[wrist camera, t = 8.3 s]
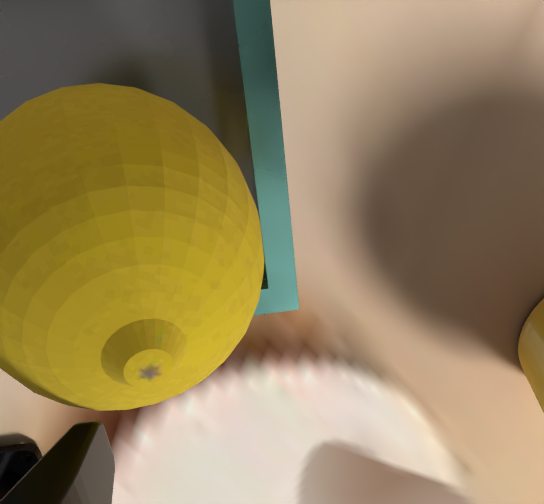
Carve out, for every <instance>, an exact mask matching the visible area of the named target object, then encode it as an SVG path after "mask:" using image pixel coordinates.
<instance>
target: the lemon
mask: <svg viewBox="0 0 544 504" xmlns="http://www.w3.org/2000/svg"><path fill="white" fill-rule="evenodd" d="M263 272H264V252H263V243H262V235H261V227H260V220H259V215H258V211H257V208H256V205H255V202H254V200H253V197H252V195H251V193H250V191H249V188H248V186H247V184H246V181H245V179H244V177H243V174H242V172H241V170H240V168H239V166H238V164H237V163H236V161H235V160H234V158H233V157H232V156H231V154H230V153H229V152H228V151H227V150H226V148H225V147H224V146H223V145H222V143H221V142H220V141H219V140H218V139H217V137H216V136H215V135H214V134H213V132H212V131H211V130H210V129H209V128H208V127H207V126H206V125H204V124H203V123H202V122H200V121H199V120H197V119H196V118H195V117H193V116H192V115H191V114H189V113H188V112H186V111H185V110H184V109H182V108H181V107H180V106H178V105H177V104H175V103H174V102H172V101H169V100H167V99H164V98H162V97H159V96H156V95H154V94H151V93H149V92H146V91H143V90H141V89H138V88H135V87H128V86H119V85H111V84H103V83H94V84H85V85H77V86H69V87H61V88H58V89H56V90H53V91H51V92H48V93H46V94H43V95H41V96H38V97H36V98H33V99H31V100H28V101H26V102H25V103H23V104H22V105H21V106H19V107H18V108H17V109H15V110H14V111H13V112H11V113H10V114H9V115H8V116H6V117H5V118H4V119H2V120H1V121H0V368H1V369H2V370H3V371H5V372H6V373H8V374H9V375H10V376H12V377H13V378H14V379H16V380H17V381H19V382H20V383H22V384H23V385H24V386H26V387H27V388H29V389H30V390H31V391H33V392H34V393H37V394H39V395H42V396H44V397H47V398H49V399H52V400H54V401H57V402H59V403H62V404H65V405H69V406H74V407H80V408H87V409H93V410H99V411H100V410H128V409H132V408H137V407H142V406H147V405H151V404H156V403H158V402H161V401H163V400H166V399H168V398H171V397H173V396H176V395H179V394H181V393H183V392H184V391H186V390H188V389H189V388H191V387H192V386H194V385H196V384H197V383H199V382H201V381H202V380H204V379H205V378H206V377H207V376H208V375H210V374H211V373H212V372H213V371H214V370H215V369H216V368H217V367H218V366H220V365H221V364H222V363H223V362H224V361H225V360H226V358H227V357H228V356H229V355H230V353H231V352H232V351H233V349H234V348H235V347H236V345H237V344H238V343H239V341H240V340H241V339H242V337H243V336H244V335H245V333H246V331H247V328H248V326H249V324H250V321H251V319H252V317H253V314H254V312H255V310H256V307H257V304H258V302H259V298H260V292H261V285H262V279H263Z"/></svg>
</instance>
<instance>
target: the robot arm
mask: <svg viewBox="0 0 544 504" xmlns="http://www.w3.org/2000/svg"><path fill="white" fill-rule="evenodd" d="M25 454H28V455H30V456H27V455H25ZM114 473H115V462H114V456H113V453H112V450H111V446H110V443H109V440H108V437H107V434H106V431H105V428H104V426H103V424H102V423H101V422H100V421H97V420H96V421H89V422H81V423H77V424H75V425H73V426H72V427H71V428H70V429H69V430H68V431H67V432H66V433H65V434H64V435H63V436H62V437H61V438H60V439H59V440H58V442H57V443H56V444H55V445H54V446H53V447H52V448H51V449H50V450H49V451H48V452H47V453H46V454H45V455H44V456H43V457H42V454H41V452H40V450H39V448H38V447H37V446H35V445H33V444H19V445H12V446H5V447H0V504H112V493H113V483H114Z"/></svg>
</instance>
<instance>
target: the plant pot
mask: <svg viewBox="0 0 544 504" xmlns="http://www.w3.org/2000/svg"><path fill="white" fill-rule="evenodd" d="M518 356H519V360H520V364H521V366H522V369H523V371H524V373H525V375H526V377H527V379H528V381H529V383H530V385H531V387H532V390H533V392H534V394H535V396H536V398H537V400H538V402H539V404H540V406H541V408H542V410H543V412H544V298H543V299H542V300H541V301H540V302H539V303H538V305H537V306H536V307H535V308H534V309H533V311H532V312H531V313H530V315H529V317H528V318H527V320H526V322H525V324H524V326H523V328H522V331H521V334H520V338H519V342H518Z"/></svg>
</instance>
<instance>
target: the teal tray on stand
mask: <svg viewBox="0 0 544 504" xmlns="http://www.w3.org/2000/svg"><path fill="white" fill-rule="evenodd" d="M94 83H103V84H111V85H119V86H128V87H135V88H138V89H141V90H143V91H146V92H149V93H151V94H154V95H156V96H159V97H162V98H164V99H167V100H169V101H172V102H174V103H175V104H177V105H178V106H180V107H181V108H182V109H184V110H185V111H186V112H188V113H189V114H191V115H192V116H193V117H195V118H196V119H197V120H199V121H200V122H202V123H203V124H204V125H206V126H207V127H208V128H209V129H210V130H211V131H212V132H213V134H214V135H215V136H216V137H217V139H218V140H219V141H220V142H221V143H222V145H223V146H224V147H225V148H226V150H227V151H228V152H229V153H230V154H231V156H232V157H233V158H234V160H235V161H236V163H237V164H238V166H239V168H240V170H241V172H242V174H243V177H244V179H245V181H246V184H247V186H248V188H249V191H250V193H251V195H252V197H253V200H254V202H255V205H256V208H257V211H258V215H259V220H260V227H261V235H262V243H263V252H264V272H263V279H262V285H261V292H260V298H259V302H258V304H257V307H256V310H255V312H254V314H253V315H260V314H268V313H275V312H283V311H290V310H297V309H299V300H298V290H297V279H296V269H295V258H294V248H293V237H292V227H291V216H290V206H289V195H288V185H287V174H286V164H285V153H284V143H283V132H282V122H281V111H280V101H279V90H278V80H277V70H276V59H275V49H274V38H273V28H272V17H271V7H270V0H0V121H1V120H2V119H4V118H5V117H6V116H8V115H9V114H10V113H11V112H13V111H14V110H15V109H17V108H18V107H19V106H21V105H22V104H23V103H25V102H26V101H28V100H31V99H33V98H36V97H38V96H41V95H43V94H46V93H48V92H51V91H53V90H56V89H58V88H61V87H69V86H77V85H85V84H94Z"/></svg>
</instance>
